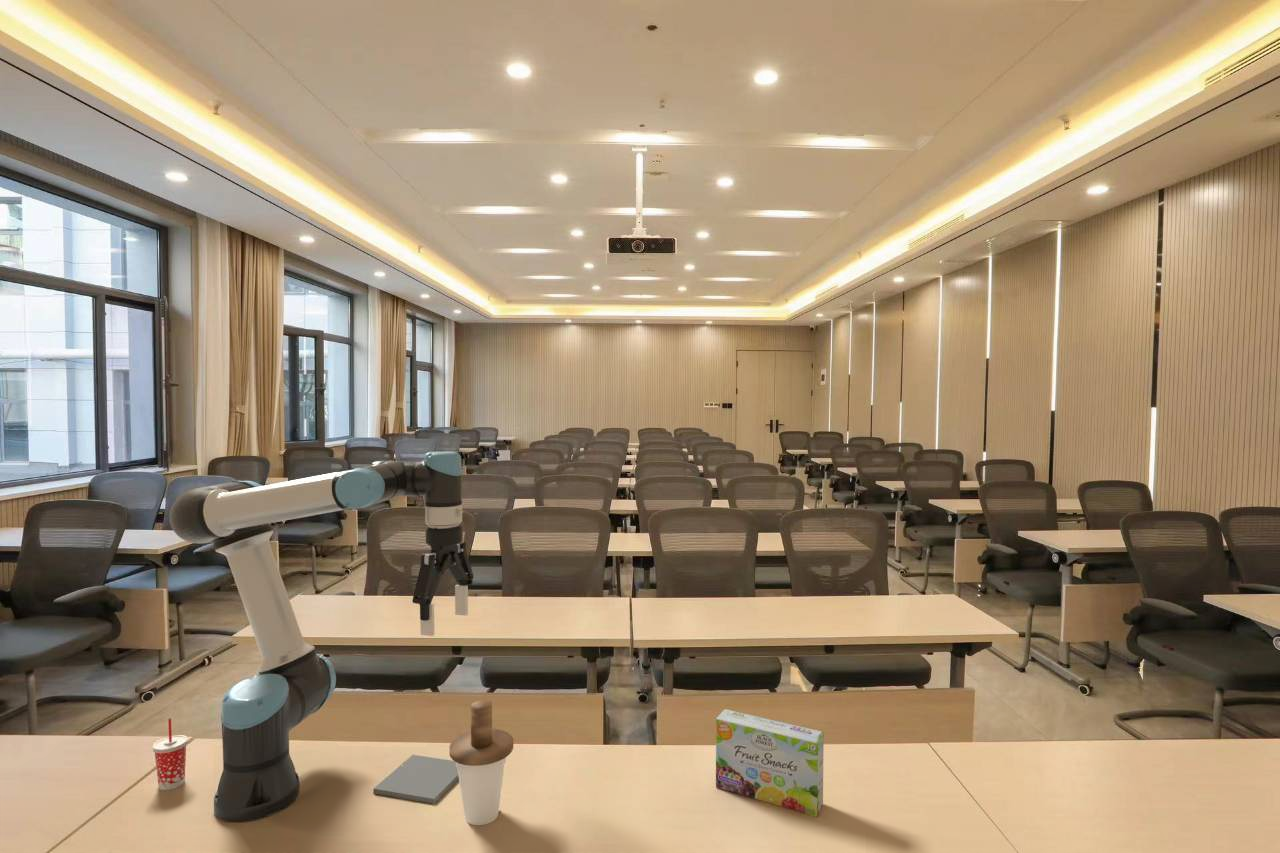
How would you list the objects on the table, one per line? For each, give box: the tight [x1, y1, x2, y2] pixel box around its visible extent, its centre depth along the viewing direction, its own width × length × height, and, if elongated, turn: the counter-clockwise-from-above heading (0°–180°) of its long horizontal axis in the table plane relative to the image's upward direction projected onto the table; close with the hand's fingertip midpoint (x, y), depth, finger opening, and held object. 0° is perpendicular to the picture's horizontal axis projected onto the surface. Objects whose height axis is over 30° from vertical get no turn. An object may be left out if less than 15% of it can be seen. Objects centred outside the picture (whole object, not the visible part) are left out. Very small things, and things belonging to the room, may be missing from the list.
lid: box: [449, 700, 514, 766], centre depth 134 cm, size 12×12×9 cm
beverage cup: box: [152, 717, 189, 791], centre depth 145 cm, size 6×6×14 cm
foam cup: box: [456, 757, 507, 826], centre depth 134 cm, size 10×9×13 cm
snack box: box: [715, 708, 825, 817], centre depth 141 cm, size 21×6×15 cm, turn 62°
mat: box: [372, 754, 459, 804], centre depth 147 cm, size 14×14×1 cm
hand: (445, 624), depth 148 cm, fingers open, 13 cm apart
